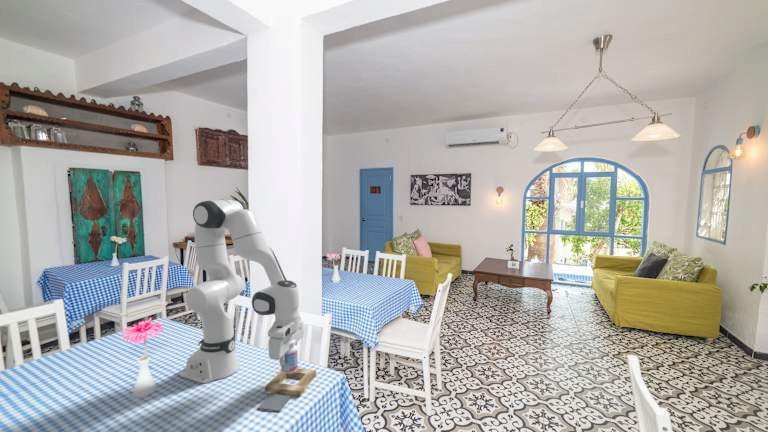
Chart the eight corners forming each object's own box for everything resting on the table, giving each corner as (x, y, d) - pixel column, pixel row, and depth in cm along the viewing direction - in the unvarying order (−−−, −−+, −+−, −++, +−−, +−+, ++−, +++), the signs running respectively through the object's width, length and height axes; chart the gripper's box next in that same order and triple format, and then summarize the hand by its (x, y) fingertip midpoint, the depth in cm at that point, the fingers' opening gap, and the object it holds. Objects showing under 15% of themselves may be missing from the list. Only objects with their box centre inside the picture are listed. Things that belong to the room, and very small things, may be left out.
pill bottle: (293, 374, 116) (292, 345, 115) (278, 373, 117) (277, 344, 116) (300, 366, 122) (300, 338, 121) (286, 364, 123) (285, 336, 122)
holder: (265, 392, 115) (264, 387, 115) (284, 371, 128) (284, 366, 128) (300, 396, 112) (300, 391, 112) (316, 374, 126) (316, 370, 126)
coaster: (257, 409, 105) (257, 407, 105) (270, 394, 113) (270, 393, 113) (279, 412, 104) (279, 410, 104) (291, 397, 112) (291, 395, 112)
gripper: (293, 313, 129) (293, 345, 130) (264, 334, 109) (265, 372, 110) (307, 314, 128) (307, 347, 129) (281, 335, 108) (282, 374, 109)
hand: (288, 359), depth 119 cm, fingers closed on pill bottle, 6 cm apart
